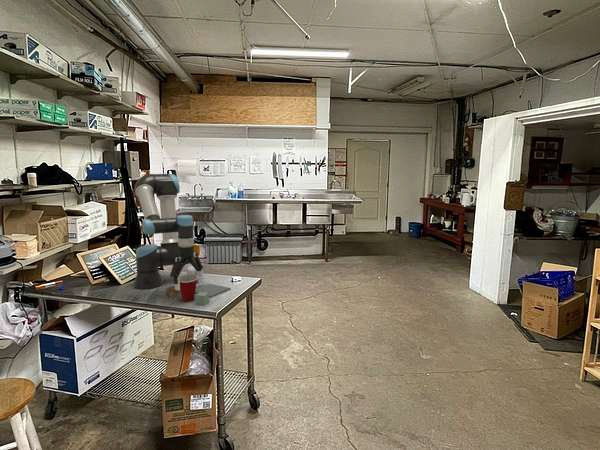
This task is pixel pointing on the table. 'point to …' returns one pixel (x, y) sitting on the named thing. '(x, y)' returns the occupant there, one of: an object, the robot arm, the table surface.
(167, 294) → the walnut block
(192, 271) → the soap bottle
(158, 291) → the table surface
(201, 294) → the green block
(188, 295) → the plastic cup
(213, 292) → the charcoal mat
